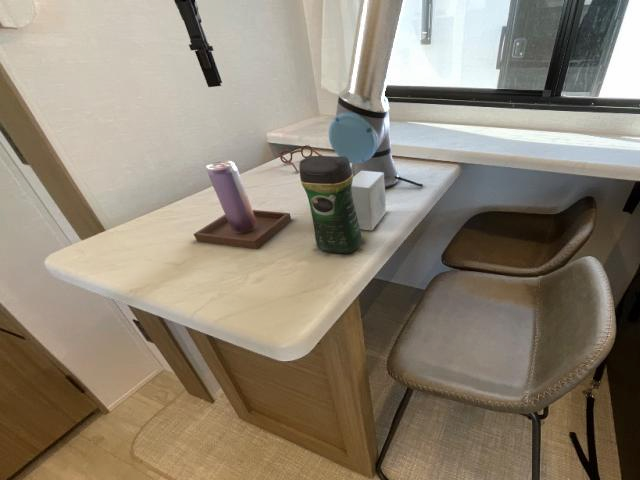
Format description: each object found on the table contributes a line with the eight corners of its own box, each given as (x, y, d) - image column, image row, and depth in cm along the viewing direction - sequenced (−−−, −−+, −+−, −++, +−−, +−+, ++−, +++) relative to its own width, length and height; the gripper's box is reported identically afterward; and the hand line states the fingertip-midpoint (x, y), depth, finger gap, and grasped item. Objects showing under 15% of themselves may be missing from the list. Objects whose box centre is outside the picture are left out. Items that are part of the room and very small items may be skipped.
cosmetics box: (373, 231, 74) (368, 186, 67) (348, 228, 75) (341, 184, 69) (387, 212, 81) (384, 171, 75) (364, 210, 83) (359, 169, 76)
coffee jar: (366, 238, 71) (355, 151, 59) (353, 257, 65) (339, 164, 54) (327, 235, 73) (309, 149, 62) (312, 252, 68) (288, 162, 56)
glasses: (313, 157, 124) (310, 143, 121) (329, 164, 116) (326, 149, 113) (281, 165, 118) (277, 150, 115) (296, 172, 110) (293, 157, 107)
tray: (291, 220, 80) (289, 213, 79) (257, 249, 70) (254, 241, 68) (237, 215, 84) (234, 208, 83) (197, 241, 74) (193, 233, 72)
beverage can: (242, 236, 74) (216, 170, 64) (227, 231, 76) (199, 166, 66) (263, 226, 77) (240, 162, 68) (247, 221, 80) (224, 159, 70)
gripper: (159, -29, 71) (202, 84, 85) (134, -60, 53) (194, 90, 67) (195, -29, 73) (231, 80, 87) (183, -59, 55) (232, 86, 69)
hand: (215, 85), depth 77 cm, fingers open, 13 cm apart
